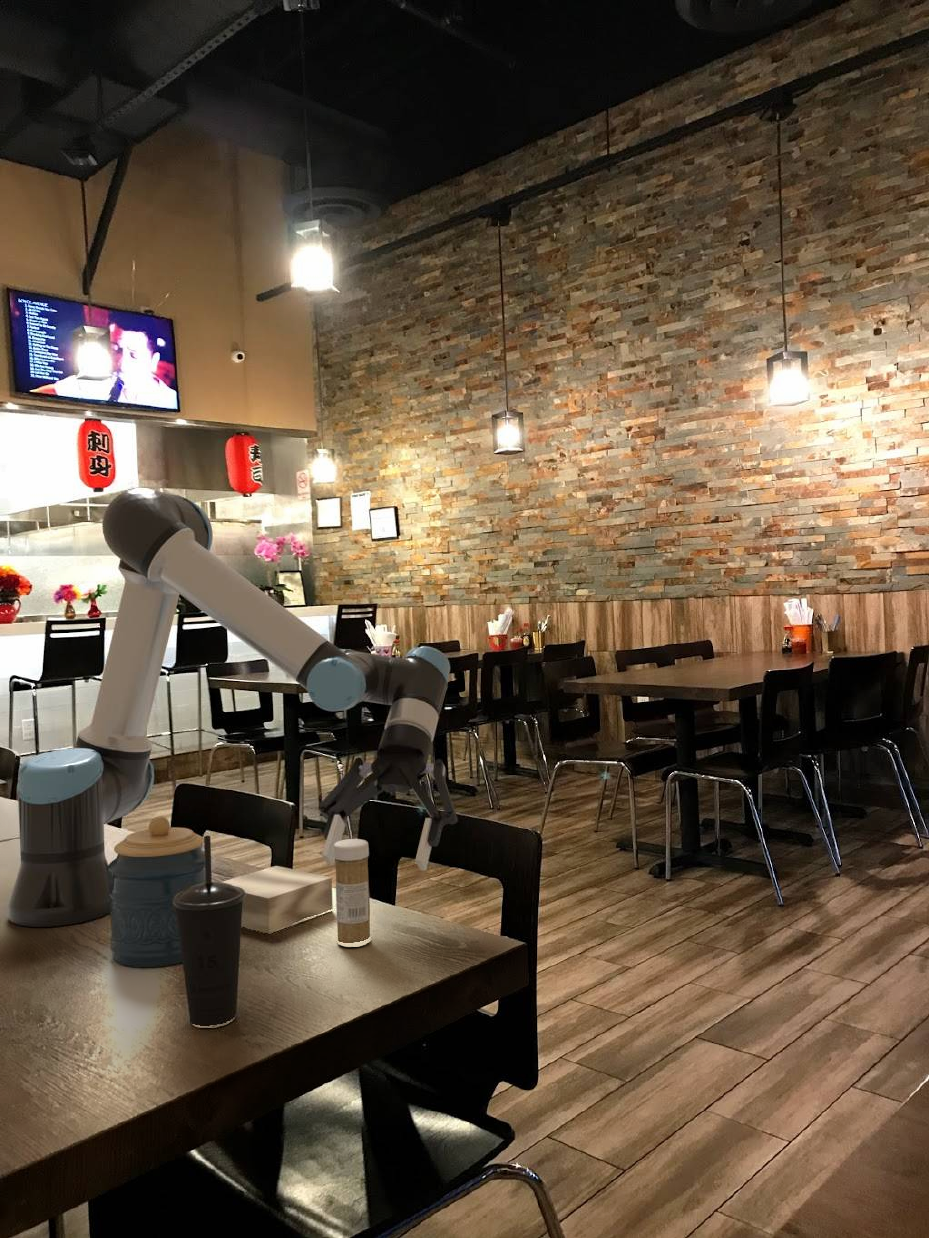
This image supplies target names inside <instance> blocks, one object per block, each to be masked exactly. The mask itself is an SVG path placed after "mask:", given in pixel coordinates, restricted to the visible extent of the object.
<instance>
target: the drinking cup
mask: <svg viewBox="0 0 929 1238" xmlns="http://www.w3.org/2000/svg"><path fill="white" fill-rule="evenodd" d="M203 838H204V844H203V845H204V848H203V850H204V852H205V882H204V883H200V884H196V885H193V886H191V887H189V888H187V889H186V890H184V891H182V892H180V893H178V894H176V895H175V896H174V897H173V899H172V903H173V905H174V906H175V907H176V915H177V922H178V930H179V938H180V946H181V954H182V961H183V962H182V967H183V975H184V984H185V991H186V998H187V1006H188V1014H189V1016H188V1017H189V1023H190V1022H191V1023H192V1024H195V1025H200V1026H210V1025H217V1024H223V1023H226V1022H227V1021H230V1020H231V1019H233V1018H234V1017H235V1015H236V1016H237V1009H238V1008H237V1007H238V1006H237V1005H238V991H239V989H238V988H239V973H240V971H239V970H240V954H241V953H240V952H241V940H242V939H241V936H242V935H241V934H242V927H241V921H242V904H243V899H244V898H245V891H244V889H242V888H240V887H237V886H233V885H231V884H228V883H223V881H213V875H212V859H211V857H212V844H211V842H212V841H211V840H212V839H211V836H210V835H204V836H203ZM191 1023H190V1024H191Z"/></svg>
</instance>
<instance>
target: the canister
mask: <svg viewBox="0 0 929 1238" xmlns="http://www.w3.org/2000/svg"><path fill="white" fill-rule="evenodd" d="M170 825H171V824H170V821H169V820H168V818H167V817H166V816H155V817H154V818H152V819H151V820H150V822H149V824H148V829H143V830H138V831H135V832H132V833H129V834H128V835H126V836H125V838H124V839H123V840H121V841H120V842H118V843H117V844H115V845H114V847H113V850H114V853H116V854H117V856H116V858H115V859H113V860H112V861H111V862H109V863H108V871H109V872H110V873H111V874H112V875H113V882H112V888H111V889H110V890H109V897H110V906H111V912H110V925H111V926H110V927H111V928H110V929H111V930H110V931H111V932H110V933H111V934H110V938H109V942H110V951H111V952H112V953H111V954H112V959H113V960H114V961H115V962H116V963H117V964H118V963H119V964H120V965H123V966H127V967H134V968H157V967H158V968H159V967H166V966H172V965H178V964H181V963H182V964H183V961H182V954H181V946H180V938H179V930H178V922H177V915H176V907H175V906H174V905H173V903H172V899H173V897H174V896H175V895H176V894H178V893H180V892H182V891H184V890H186V889H187V888H189V887H191V886H193V885H196V884H200V883H204V882H205V852H204V848H203V847H202V846H203V845H204V836H201V835H199V834H197V833H195V832H194V831H193V830H192V829H190V828H186V827H179V826H178V827H175V826H174V827H172V826H170ZM212 858H213V857H212V856H211V860H212Z"/></svg>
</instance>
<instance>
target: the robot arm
mask: <svg viewBox="0 0 929 1238" xmlns="http://www.w3.org/2000/svg"><path fill="white" fill-rule="evenodd" d="M102 518H103V519H102V526H101V527H102V534H103V537H104V540H105V543H106V545H107V547H108V548H109V549H110V551H111V552H112V553H113V554H114V555H115V556H116V557H117V558H119V563H118V567H117V569H118V570H119V572H120V574H121V576H123V578H124V585H123V589H122V594H121V597H120V602H119V605H118V606H119V607H118V610H117V615H116V618H115V623H114V627H113V631H112V635H111V640H110V644H109V648H108V653H107V655H106V656H107V657H106V660H105V665H104V669H103V672H102V676H101V677H102V678H101V681H100V685H99V690H98V694H97V699H96V702H95V705H94V706H95V707H94V711H93V715H92V719H91V723H90V724H89V725H88V726H86V727H85V728H83V729H81V730H79V732H78V734H77V737H76V738H77V739H76V742H75V747H73V748H71V747H70V748H63V749H55V750H52V751H51V752H43V753H39V754H37V755H34V756H32V757H30V758H28V759H26V760H25V761H24V762H23V763H21V766H20V767H19V769H18V777H17V778H18V780H17V785H16V794H17V799H18V800H17V802H18V806H17V807H18V824H19V825H18V826H19V828H18V829H19V849H20V850H19V851H20V854H19V855H20V867H19V870H18V873H17V876H16V880H15V882H14V886H13V888H12V892H11V895H10V899H9V902H8V903H9V904H8V913H9V914H8V918H9V921H10V922H12V923H13V924H15V925H18V926H22V927H23V926H24V927H32V928H33V927H34V928H36V927H37V928H40V927H41V928H45V927H46V928H47V927H60V926H68V925H73V924H79V923H83V922H87V921H91V920H94V919H98V918H101V917H103V916H106V915H108V914H111V906H110V897H109V890H110V889H111V888H112V882H113V875H112V874H111V873H110V872H109V871H108V865H109V863H108V860H107V857H106V853H105V851H106V850H105V847H106V846H105V825H106V824H108V823H111V822H113V821H115V820H117V819H122V818H123V817H125V816H128V815H129V814H131V813H132V812H134V811H136V810H137V809H138V807H140V806H141V805H142V804H143V803H144V802H145V801H146V799H147V798H148V796H150V793H151V791H152V789H153V786H154V781H155V771H154V765H153V763H152V762H151V760H150V759H151V758H150V757H151V753H152V749H153V744H152V742H151V741H150V739H149V737H148V736H147V734H146V733H147V729H148V725H149V720H150V717H151V712H152V709H153V704H154V700H155V696H156V692H157V687H158V684H159V679H160V675H161V672H162V666H163V663H164V660H165V655H166V652H167V651H166V650H167V648H168V647H167V646H168V643H169V639H170V634H171V630H172V626H173V622H174V618H175V614H176V610H177V606H178V601H179V597H180V595H181V596H182V597H183V598H184V599H185V600H187V601H188V602H189V603H191V604H192V605H194V606H195V607H197V608H198V609H199V610H200V611H202V612H203V613H204V614H205V615H207V616H208V617H210V618H211V619H212V620H213V621H215V622H216V623H218V624H219V625H220V626H221V627H223V628H224V629H226V630H227V631H228V632H229V633H231V634H232V635H234V636H235V637H236V638H237V639H239V640H240V641H241V642H243V643H245V645H247V646H248V647H249V648H251V649H252V650H254V651H255V652H257V653H258V654H259V655H260V656H262V657H263V658H264V659H265V660H267V661H268V662H270V663H271V664H272V665H274V666H275V667H276V668H278V669H279V670H280V671H282V673H284V674H286V676H288V677H289V678H291V679H292V680H293V681H295V682H296V683H297V684H299V685H300V686H301V687H303V689H305V690H306V691H307V693H308V696H309V698H310V699H311V701H312V703H313V704H314V705H316V707H318V708H320V709H321V710H324V711H327V712H340V711H347V710H349V709H351V708H353V707H355V706H356V705H357V704H359V703H362V702H366V703H367V702H368V703H375V704H381V705H386V706H390V709H389V712H388V716H387V719H386V722H385V724H384V730H383V732H382V736H381V739H380V742H379V745H378V749H377V755H376V758H375V759H374V760H373V762H371V761H370V762H369V761H364V760H363V758H362V757H359V756H358V757H356V758H354V760H353V763H352V765H351V767H350V770H348V772H347V773H346V774H345V775H344V776H343V777H342V778H341V780H340V781H339V782H338V783H337V784H336V785H335V786H334V788H332V790H331V791H330V792H329V793H328V794H327V796H326V797H325V798H324V799H323V800H322V801H321V802H320V804H319V805H318V810H319V812H320V813H321V815H322V816H323V818H324V819H325V820H326V824H325V827H324V831H323V837H324V839H325V844H324V847H323V851H322V854H321V857H322V859H324V861H325V863H326V865H327V866H332V867H333V866H334V864H335V858H334V844H335V843H336V842H338V841H341V840H342V838H343V836H344V831H345V828H346V823H345V821H344V820H346V818H348V817H349V816H351V815H352V814H353V813H354V812H355V811H356V810H358V809H359V808H360V807H362V806H363V805H364V804H365V803H367V802H369V800H370V799H372V798H373V797H377V796H379V795H380V794H382V793H383V792H385V793H395V792H397V793H401V794H406V793H407V792H408V791H412V793H413V794H414V795H415V797H416V798H417V799H418V800H419V801H418V802H419V803H420V804H421V805H422V807H423V808H424V810H425V812H426V813H427V814H428V816H429V817H425V820H424V824H423V828H422V831H421V835H420V840H419V843H418V848H417V851H416V852H417V853H416V855H415V856H416V857H415V858H414V859H415V862H416V864H417V866H418V869H419V870H420V871H421V872H422V871H427V867H428V863H429V859H430V855H431V851H432V847H438V845H440V844H439V843H440V839H441V836H442V835H441V834H442V831H443V827H444V826H446V825H448V824H450V825H456V824H457V823H458V822H459V821H458V819H459V818H458V816H457V813H456V810H455V807H454V804H453V801H452V797H451V795H450V791H449V788H448V785H447V783H446V782H447V781H446V780H447V779H446V778H447V768H446V766H445V765H444V761H443V760H442V759H441V758H437V759H436V760H435V761H434V762H432V763H428V761H429V759H430V754H431V750H432V746H433V741H434V738H435V735H436V730H437V726H438V722H439V719H440V713H441V710H442V706H443V703H444V699H445V696H446V693H447V690H448V684H449V677H450V672H451V665H450V661H449V659H448V658H447V656H446V655H445V653H443V652H442V651H440V650H439V649H438V648H434V647H431V646H426V645H421V646H420V647H412V648H411V649H410V650H408V651H407V653H406V655H405V656H404V658H403V657H392V656H385V655H379V654H375V653H374V654H373V653H368V652H363V651H357V650H354V649H350V648H348V649H345V648H344V649H343V648H339V647H337V646H336V645H334V644H333V643H332V642H330V641H329V640H328V639H326V637H324V636H323V635H322V634H320V633H319V632H318V631H316V630H315V629H313V627H311V626H310V625H308V624H307V623H306V622H304V621H303V620H302V619H300V618H299V617H297V616H296V615H295V614H293V613H292V612H291V611H289V610H288V609H287V608H286V607H284V606H283V605H281V604H280V603H279V602H278V601H277V600H275V599H274V598H272V597H270V595H268V594H267V593H265V592H264V591H263V590H261V589H260V588H259V587H257V586H256V585H255V584H253V583H252V582H251V581H250V580H249V579H247V578H246V577H244V576H243V575H241V574H240V573H239V572H237V571H236V570H235V569H233V568H232V567H231V566H230V565H229V564H226V562H224V561H222V560H221V559H220V558H218V557H217V556H216V555H215V554H213V553H212V552H211V548H212V544H213V537H214V536H213V535H214V534H213V532H214V531H213V528H212V524H211V520H210V518H209V517H208V516H207V513H206V512H205V511H204V509H202V508H201V507H200V505H198V504H197V503H196V502H194V501H192V500H190V499H189V498H187V497H183V496H181V495H179V494H173V493H172V494H171V493H168V492H167V493H166V492H163V491H159V490H157V489H154V488H153V489H152V488H147V487H137V488H131V489H128V490H125V491H123V492H121V493H120V494H118V495H117V496H115V498H113V499H112V500H111V501H110V503H109V504H108V505H107V507H106V509H105V511H104V514H103V517H102ZM428 774H429V775H430V777H431V779H433V780H434V781H435V784H436V787H437V790H438V794H439V798H440V800H441V803H442V807H443V811H440V810H439V809H438V808H437V806H436V804H435V803H434V802H433V800H432V798H430V796H429V794H428V793H427V791H426V790H425V788H424V787H423V785H422V784H421V783H420V782H421V781H422V780H423V779H424V778H425V777H426V776H427V775H428ZM363 780H364V781H363ZM376 782H377V784H375V783H376Z"/></svg>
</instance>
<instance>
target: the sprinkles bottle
mask: <svg viewBox="0 0 929 1238" xmlns="http://www.w3.org/2000/svg"><path fill="white" fill-rule="evenodd" d="M369 849H370V848H369V842H368V841H367V840H365V839H361V838H349V839H341V841H338V842H336V843H335V844H334V858H335V861H334V864H335V902H336V903H335V905H336V910H335V911H336V922H337V924H336V926H337V939H338V941H339V942H343V943H354V942H360V941H364V940H366V939H368V938H369V937H370V936H371V926H370V925H371V924H370V923H371V921H370V918H371V917H370V916H371V905H370V904H371V903H370V901H371V900H370V897H371V896H370V887H369V886H370V885H369V867H368V865H369V864H368V863H369V862H368V859H369V856H370V851H369Z"/></svg>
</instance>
